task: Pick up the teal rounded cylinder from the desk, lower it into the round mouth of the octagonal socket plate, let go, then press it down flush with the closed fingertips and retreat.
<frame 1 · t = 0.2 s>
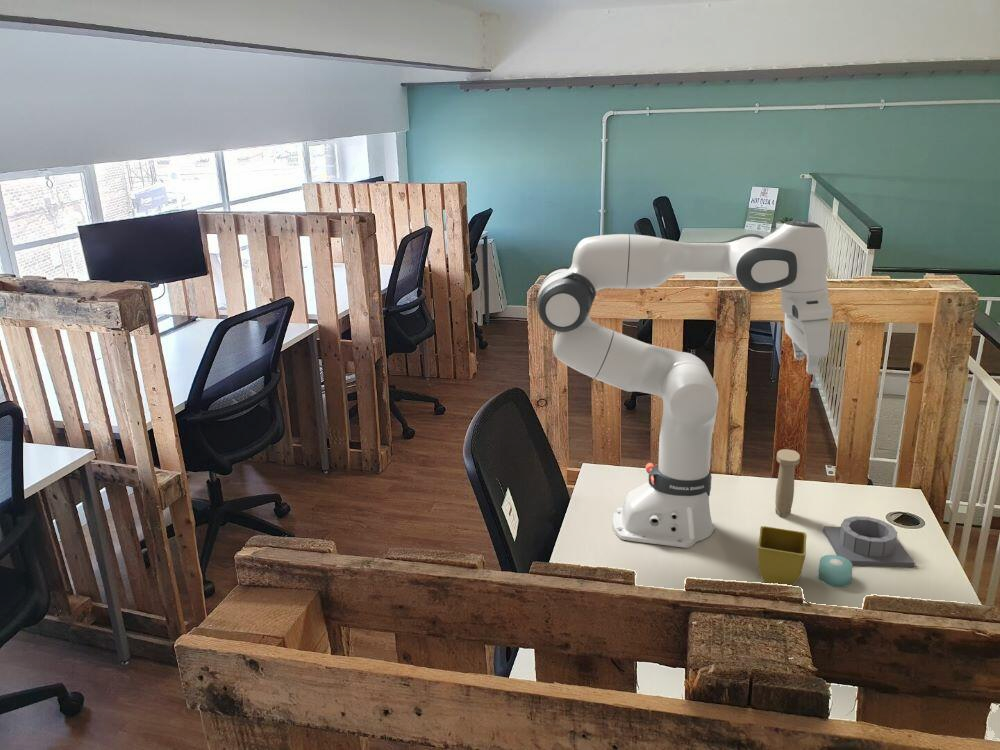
hand: (805, 366, 160), 39 cm above the table, tool pointing down, fingers open, 8 cm apart
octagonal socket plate: (866, 547, 164), on the table
teal rounded cylinder: (834, 578, 154), on the table
handle: (782, 514, 179), on the table
flower pot: (778, 580, 154), on the table
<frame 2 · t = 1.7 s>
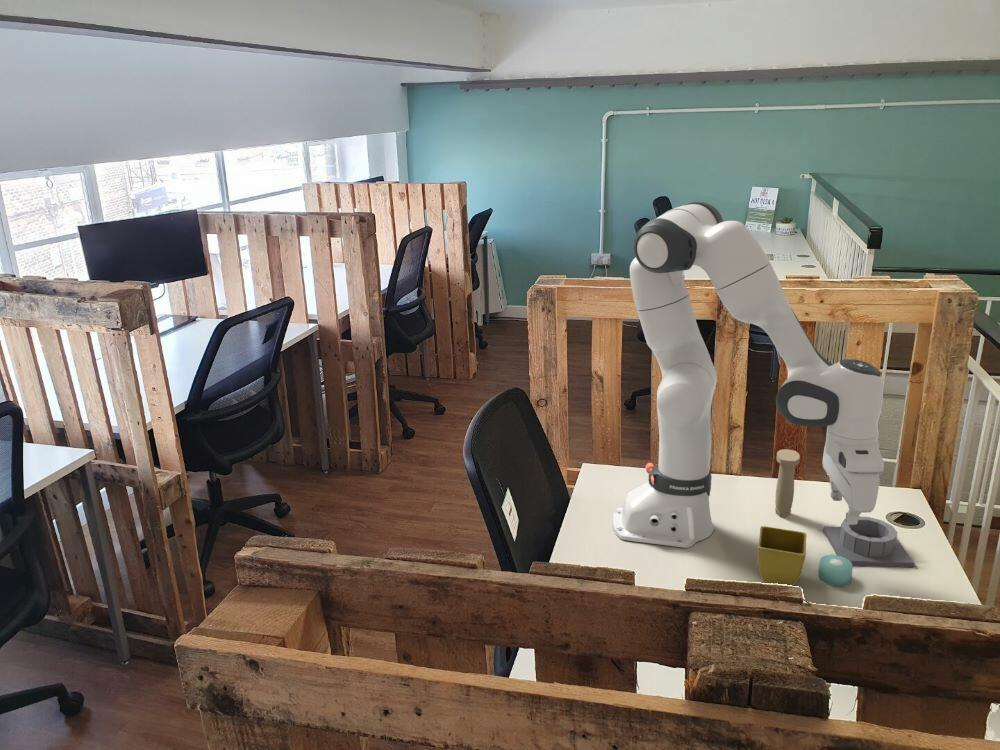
hand: (843, 510, 149), 15 cm above the table, tool pointing down, fingers open, 8 cm apart
nothing on the table moved.
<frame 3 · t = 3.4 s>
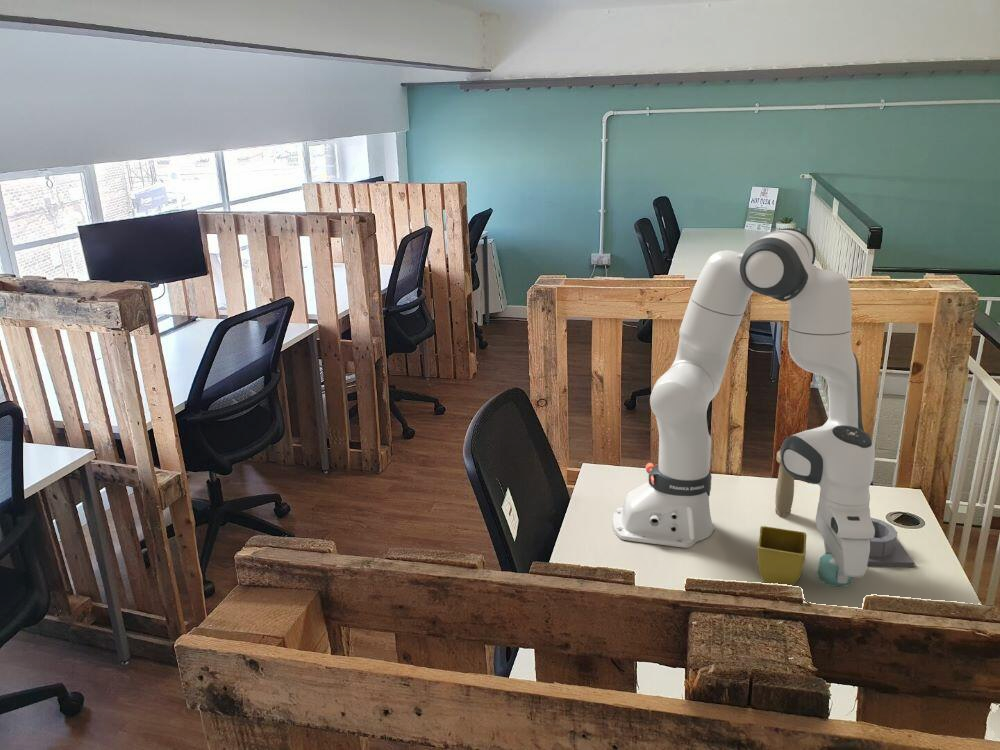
hand: (835, 570, 153), 2 cm above the table, tool pointing down, fingers closed on teal rounded cylinder, 6 cm apart
teal rounded cylinder: (834, 577, 154), on the table, touching gripper
everything else where it was.
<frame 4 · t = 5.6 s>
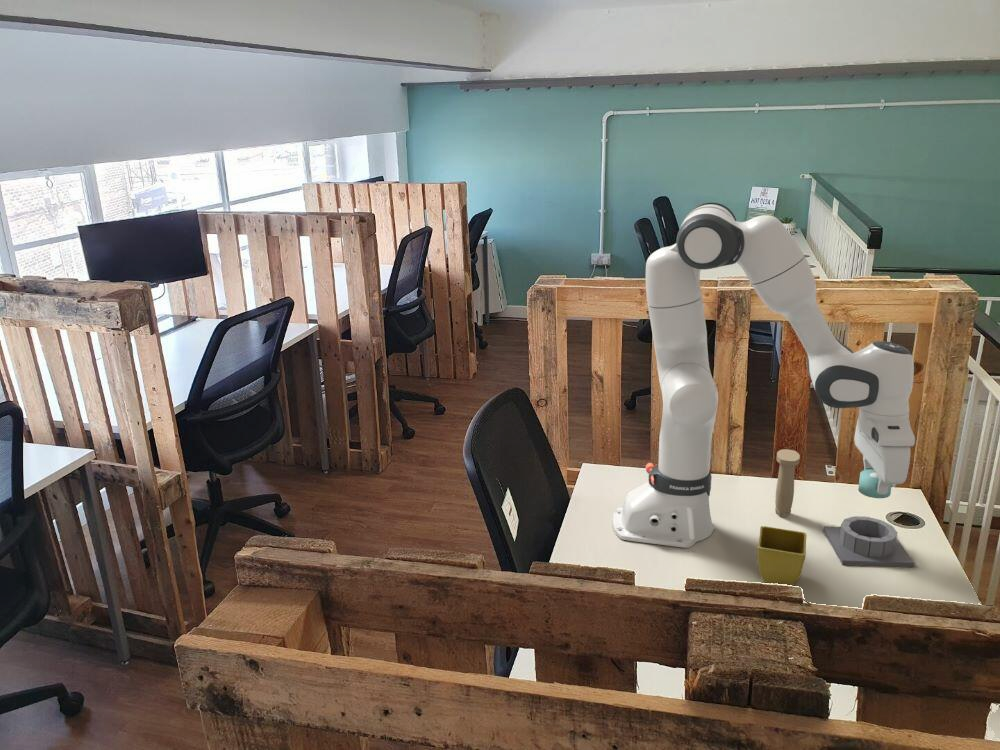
hand: (875, 484, 158), 16 cm above the table, tool pointing down, fingers closed on teal rounded cylinder, 6 cm apart
teal rounded cylinder: (874, 491, 159), point 14 cm above the table, touching gripper
everything else where it was.
when the fingers open (5 cm above the table, at t = 8.1 s): teal rounded cylinder drops 2 cm, resting on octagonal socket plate.
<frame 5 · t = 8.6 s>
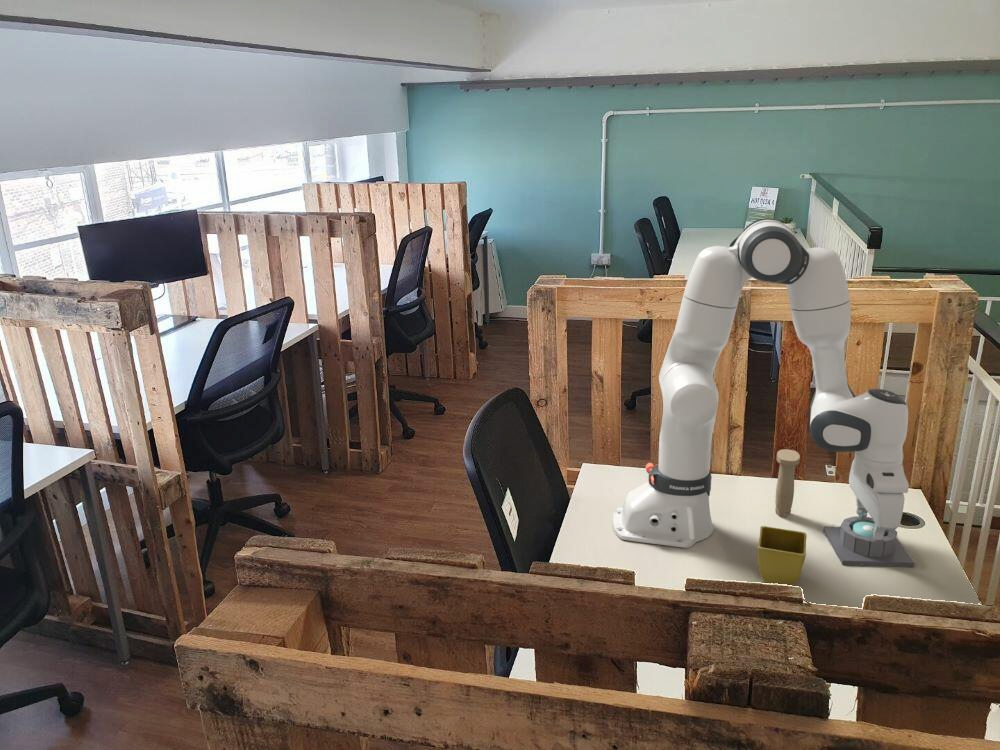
hand: (868, 526, 163), 5 cm above the table, tool pointing down, fingers open, 8 cm apart
teal rounded cylinder: (866, 543, 164), point 1 cm above the table, touching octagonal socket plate
everything else where it was.
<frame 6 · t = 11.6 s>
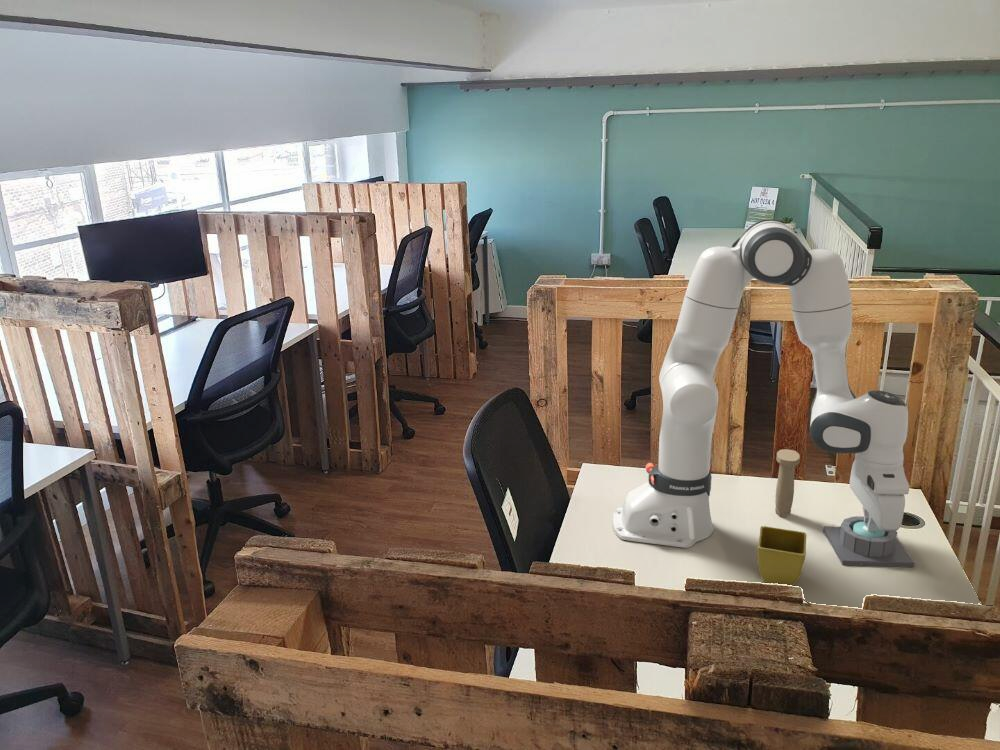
hand: (870, 528, 163), 5 cm above the table, tool pointing down, fingers closed, pressing on teal rounded cylinder
teal rounded cylinder: (867, 543, 164), point 1 cm above the table, touching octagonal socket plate, gripper
everything else where it was.
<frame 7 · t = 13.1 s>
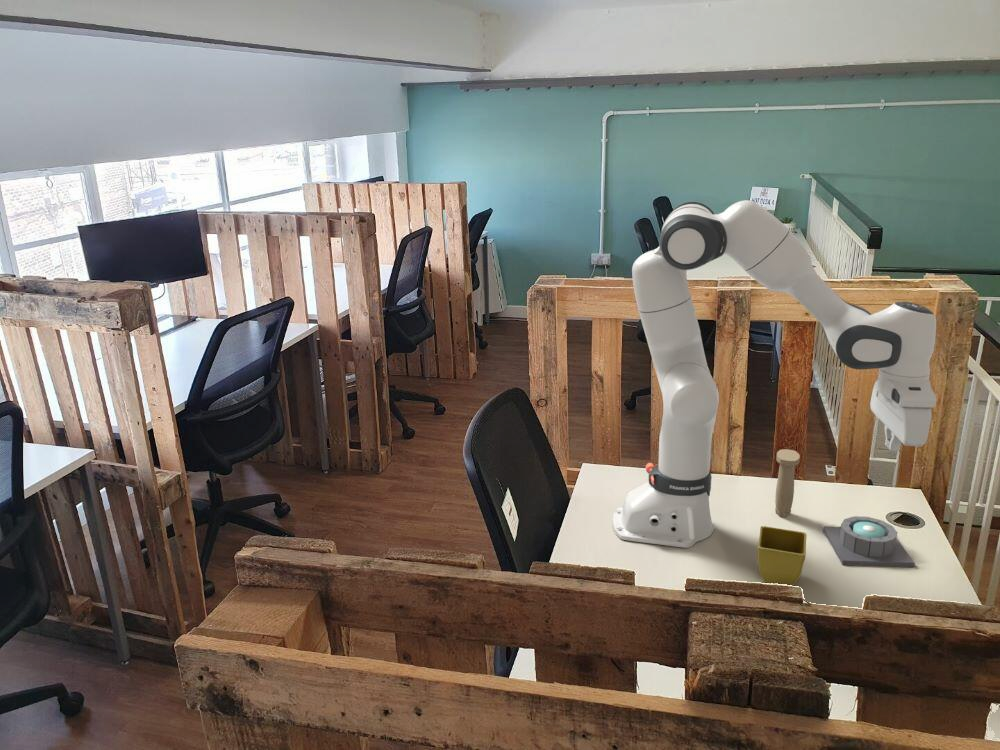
hand: (891, 448, 156), 23 cm above the table, tool pointing down, fingers closed
teal rounded cylinder: (867, 543, 164), point 1 cm above the table, touching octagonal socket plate
everything else where it was.
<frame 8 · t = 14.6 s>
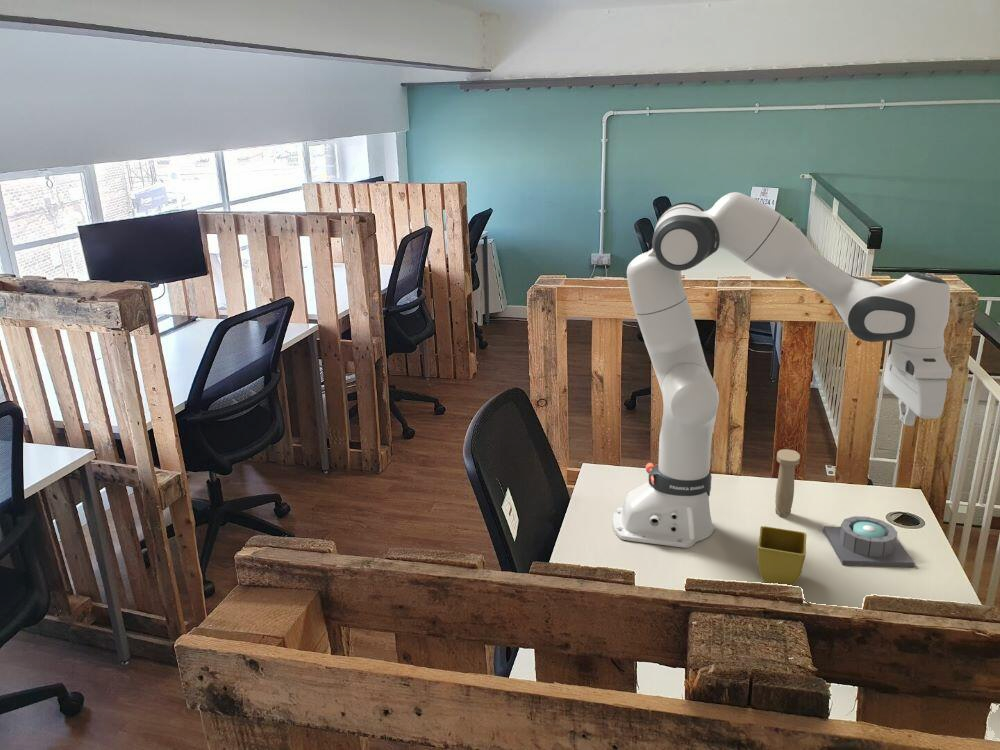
hand: (906, 423, 154), 29 cm above the table, tool pointing down, fingers closed
nothing on the table moved.
at the end: teal rounded cylinder 0.0 cm off-centre on the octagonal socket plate, point 1.0 cm above the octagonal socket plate's base; teal rounded cylinder tilted 0°; the gripper is holding nothing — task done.
